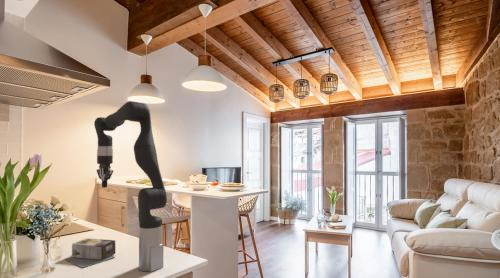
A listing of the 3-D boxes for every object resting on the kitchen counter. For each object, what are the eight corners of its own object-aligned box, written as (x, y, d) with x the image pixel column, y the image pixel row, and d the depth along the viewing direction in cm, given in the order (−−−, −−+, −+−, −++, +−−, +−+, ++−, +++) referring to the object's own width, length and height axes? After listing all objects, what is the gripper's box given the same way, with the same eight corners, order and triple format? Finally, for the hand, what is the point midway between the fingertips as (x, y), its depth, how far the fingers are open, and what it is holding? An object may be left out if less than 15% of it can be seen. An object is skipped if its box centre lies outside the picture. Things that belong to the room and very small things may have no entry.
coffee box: (86, 237, 142) (116, 239, 139) (86, 251, 142) (115, 253, 139) (71, 243, 133) (102, 246, 130) (71, 258, 133) (102, 260, 130)
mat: (114, 258, 134) (114, 257, 134) (82, 268, 122) (82, 267, 122) (96, 250, 143) (96, 250, 143) (65, 259, 132) (65, 259, 132)
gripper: (118, 154, 157) (118, 187, 156) (105, 154, 164) (104, 185, 164) (104, 155, 151) (104, 189, 150) (91, 154, 158) (91, 187, 158)
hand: (104, 187), depth 157 cm, fingers closed
